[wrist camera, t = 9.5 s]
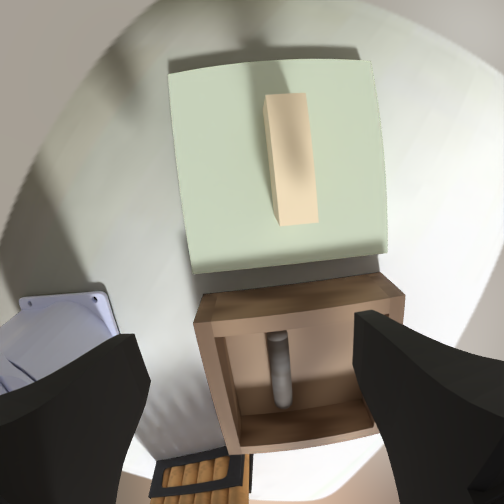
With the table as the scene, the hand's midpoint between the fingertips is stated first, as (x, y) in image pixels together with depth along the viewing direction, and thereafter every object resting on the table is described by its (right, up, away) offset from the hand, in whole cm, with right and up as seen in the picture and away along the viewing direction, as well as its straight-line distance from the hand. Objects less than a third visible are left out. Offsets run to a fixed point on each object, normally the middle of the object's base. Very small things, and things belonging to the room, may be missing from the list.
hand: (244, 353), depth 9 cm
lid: (+2, +9, +9) cm, 12 cm away
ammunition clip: (-5, -17, +16) cm, 24 cm away
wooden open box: (+4, -5, +12) cm, 13 cm away
